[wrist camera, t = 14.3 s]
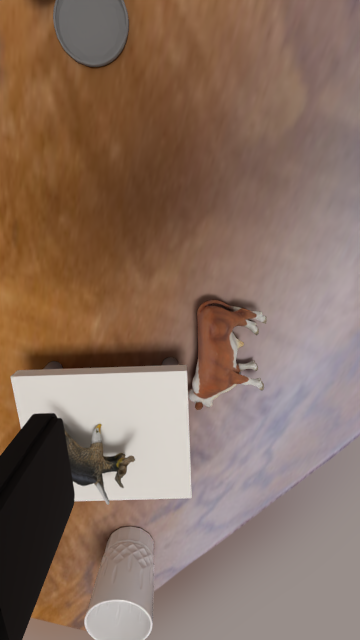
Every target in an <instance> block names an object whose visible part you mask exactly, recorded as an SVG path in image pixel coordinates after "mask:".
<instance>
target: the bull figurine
mask: <svg viewBox="0 0 360 640" xmlns="http://www.w3.org/2000/svg"><path fill="white" fill-rule="evenodd" d="M212 304H220V305H222V306H224V307H226V308H228V309H229V310H230V311H232V312H230V311H228V310H226V309H224V308H221V307H219V306H216V305H212ZM247 319H256V320H258V321H260V322H262V323H265V324H266V321H267V319H266V316H264V315H262V312H260V311H259V312H256V311H250V310H247V309H245V308H240V307H235V306H229V305H227V304H225V303H224V302H222V301H219V300H209V301H206V302H204V303H203V304H201V305H200V307H199V308H198V311H197V320H198V361H197V366H196V373H195V376H194V378H193V381H192V387H193V388H192V389H191V390H190V391H189V394H188V395H189V399H190V400H191V401H192V402H194V403H195V404H196V405H195V408H196V409H197V410H200V409H202V407H203V404H204V405H206V407H212V404H213V400H214V399H215V398H217V397H218V396H219V394H221V393H225V392H228V391H230V390H231V389H232V388H233V387H235V386H236V385H237V384H243V385H248V384H251V385H253V386H256V387H258V388H259V389H260V390H263V389H264V384H263V383H262V381H261V379H260V378H257V379H251V378H249V377H247V376H243V375H240V374H241V371H243V370H244V369H253V370H255V371H257V370H258V366H257V364H256V363H255V361H254V360H252V361H251V362H249V363H247V364H240V363H239V364H237V363H236V357H237V350H238V348H239V347H242V346H243V345H244V343H243V342H241V341H240V340H238V339H237V338H236V337H235V335H234V334H233V332H232V330H233V328H234V327H235V326H244V327H247V328H248V329H250V330H251V331H252V332H253V333H254V334H255V335H258V332H259V330H258V327H257V326H256V323H255V322H251V321H248V320H247Z"/></svg>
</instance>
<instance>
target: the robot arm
mask: <svg viewBox="0 0 360 640" xmlns="http://www.w3.org/2000/svg"><path fill="white" fill-rule="evenodd" d="M74 499H75V492H74V486H73V480H72V473H71V467H70V461H69V455H68V449H67V442H66V436H65V430H64V424H63V420H62V419H61V418H57V416H56V414H55V413H39V414H33V415H32V416H31V417H30V418H29V420H28V421H27V422H26V424H25V425H24V426H23V427H22V429H21V430H20V431H19V433H18V434H17V435H16V436H15V438H14V439H13V440H12V442H11V443H10V444H9V445H8V447H7V448H6V449H5V451H4V452H3V453H2V454H1V456H0V640H22V638H23V636H24V633H25V630H26V628H27V625H28V623H29V620H30V618H31V615H32V612H33V610H34V607H35V605H36V602H37V599H38V597H39V594H40V591H41V589H42V586H43V584H44V581H45V578H46V576H47V573H48V571H49V568H50V565H51V563H52V560H53V558H54V555H55V552H56V550H57V547H58V545H59V542H60V539H61V537H62V534H63V532H64V529H65V526H66V524H67V521H68V519H69V516H70V513H71V511H72V508H73V505H74Z"/></svg>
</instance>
